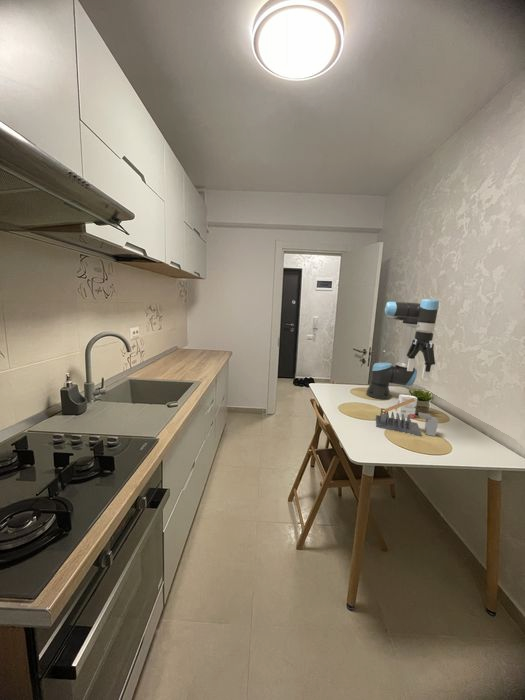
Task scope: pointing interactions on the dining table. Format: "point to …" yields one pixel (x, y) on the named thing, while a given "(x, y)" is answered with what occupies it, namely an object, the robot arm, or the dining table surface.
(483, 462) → the dining table surface
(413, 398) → the strap
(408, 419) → the heatsink
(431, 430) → the block
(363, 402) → the dining table surface
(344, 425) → the dining table surface
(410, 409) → the ink box
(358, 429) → the dining table surface
